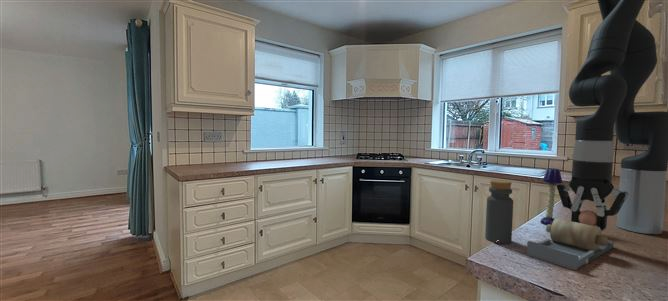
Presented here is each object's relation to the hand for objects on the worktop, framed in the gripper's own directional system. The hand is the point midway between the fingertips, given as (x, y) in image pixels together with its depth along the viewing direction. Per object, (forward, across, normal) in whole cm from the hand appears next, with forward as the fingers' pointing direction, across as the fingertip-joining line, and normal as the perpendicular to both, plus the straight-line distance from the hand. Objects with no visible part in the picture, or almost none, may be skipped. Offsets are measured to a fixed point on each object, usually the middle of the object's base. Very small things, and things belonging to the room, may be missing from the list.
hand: (587, 228), depth 76 cm
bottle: (+4, +13, +17) cm, 22 cm away
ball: (0, 0, 0) cm, 0 cm away
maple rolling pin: (+4, 0, +8) cm, 9 cm away
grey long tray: (+4, 0, +10) cm, 10 cm away
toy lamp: (+4, +12, -10) cm, 16 cm away
